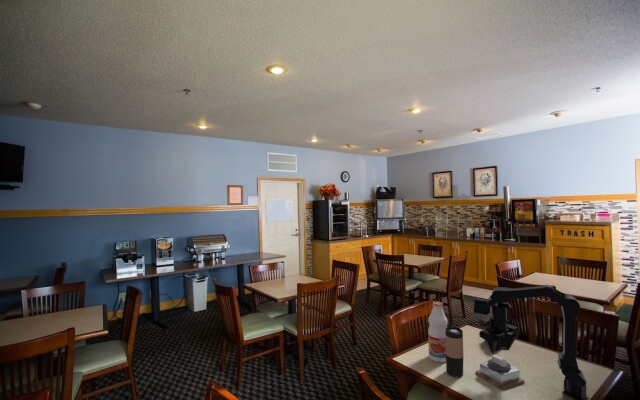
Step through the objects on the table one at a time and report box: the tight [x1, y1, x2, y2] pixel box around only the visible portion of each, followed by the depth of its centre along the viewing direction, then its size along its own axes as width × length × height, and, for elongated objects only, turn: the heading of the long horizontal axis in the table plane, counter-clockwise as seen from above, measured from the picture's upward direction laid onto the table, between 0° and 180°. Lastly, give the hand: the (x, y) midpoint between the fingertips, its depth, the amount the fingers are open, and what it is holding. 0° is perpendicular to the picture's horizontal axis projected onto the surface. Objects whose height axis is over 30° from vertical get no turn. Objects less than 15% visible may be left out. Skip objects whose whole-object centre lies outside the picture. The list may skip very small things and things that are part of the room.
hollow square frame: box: [479, 360, 521, 385], centre depth 146 cm, size 11×11×4 cm
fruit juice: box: [427, 301, 449, 363], centre depth 164 cm, size 9×9×28 cm
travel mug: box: [445, 326, 464, 378], centre depth 150 cm, size 8×8×20 cm
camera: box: [485, 328, 506, 352], centre depth 177 cm, size 14×11×10 cm
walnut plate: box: [475, 369, 526, 391], centre depth 146 cm, size 14×13×1 cm
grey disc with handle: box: [487, 354, 512, 372], centre depth 146 cm, size 9×9×7 cm
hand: (500, 351), depth 145 cm, fingers open, 9 cm apart
